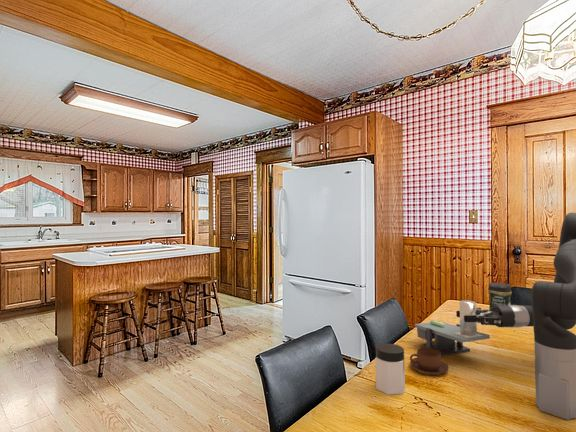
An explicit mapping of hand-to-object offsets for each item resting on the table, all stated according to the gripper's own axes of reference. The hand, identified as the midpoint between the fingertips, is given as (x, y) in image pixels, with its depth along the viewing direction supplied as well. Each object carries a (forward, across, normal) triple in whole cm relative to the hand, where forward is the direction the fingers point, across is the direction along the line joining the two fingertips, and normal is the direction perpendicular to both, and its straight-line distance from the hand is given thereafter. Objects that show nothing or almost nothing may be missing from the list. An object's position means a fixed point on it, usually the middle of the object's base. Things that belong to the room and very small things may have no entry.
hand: (460, 316), depth 120 cm
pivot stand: (+1, -11, +16) cm, 19 cm away
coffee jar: (-40, -48, +17) cm, 65 cm away
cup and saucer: (+14, +6, +16) cm, 22 cm away
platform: (0, -8, +12) cm, 15 cm away
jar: (+30, +19, +16) cm, 39 cm away
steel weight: (-3, 0, +6) cm, 7 cm away
